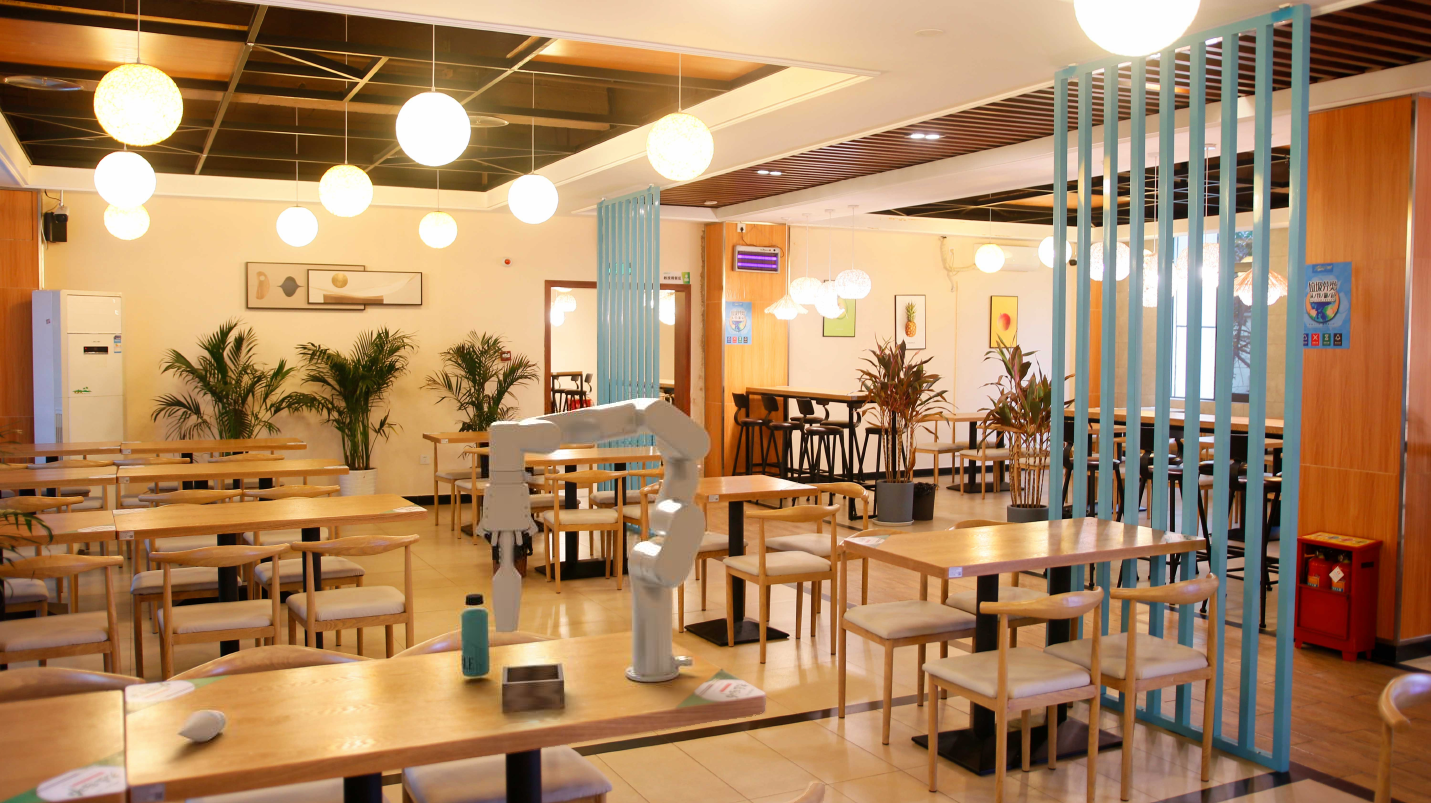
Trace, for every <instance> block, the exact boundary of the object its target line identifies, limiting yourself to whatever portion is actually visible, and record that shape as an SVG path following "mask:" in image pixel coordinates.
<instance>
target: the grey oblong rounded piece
mask: <svg viewBox="0 0 1431 803" xmlns="http://www.w3.org/2000/svg"><path fill="white" fill-rule="evenodd" d="M226 724H227V717H226V715H225V714H224V713H223V712H222V711H219V710H215V709H214V710H211V709H200V710H197V711H195V712H193V713H192V714H191V715H190V716H189V718H188V719H187V720H186V721H185V723H184V724H183V725H182V727H181V728H180V729H179V731H178V732H177V735H179V736H182V737H184V738H186V739H189V740H191V741H194V742H196V741H197V743H205V742H204V741H206V742H208V741H209V740H211V739H212V738H214V737H215V736H217V735H218V734H219V733H220V732H222V731H223V729H224V728H225V727H226Z"/></svg>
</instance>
